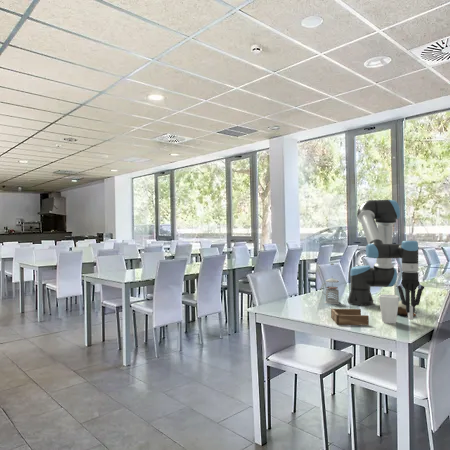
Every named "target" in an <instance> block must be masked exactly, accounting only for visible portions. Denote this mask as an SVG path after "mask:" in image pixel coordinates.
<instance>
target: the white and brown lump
mask: <svg viewBox="0 0 450 450" xmlns="http://www.w3.org/2000/svg"><path fill="white" fill-rule="evenodd" d="M397 316H399V317H406V316H408V313H407V312H406V305H404V304H402V302H401V300H399V304H398V312H397ZM415 316H417V314H416V312H415V313H413V317H415Z"/></svg>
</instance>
